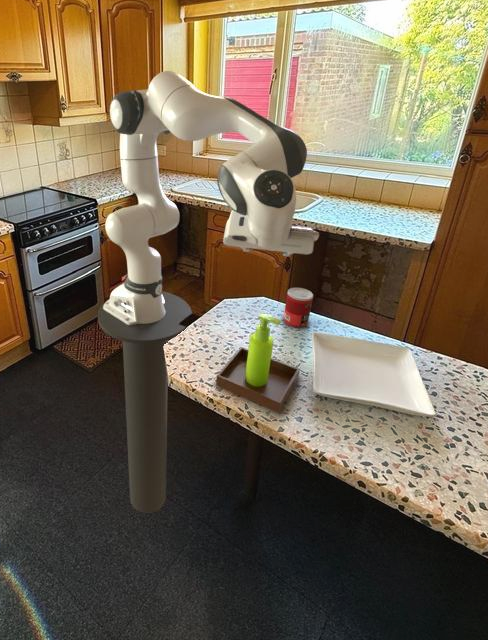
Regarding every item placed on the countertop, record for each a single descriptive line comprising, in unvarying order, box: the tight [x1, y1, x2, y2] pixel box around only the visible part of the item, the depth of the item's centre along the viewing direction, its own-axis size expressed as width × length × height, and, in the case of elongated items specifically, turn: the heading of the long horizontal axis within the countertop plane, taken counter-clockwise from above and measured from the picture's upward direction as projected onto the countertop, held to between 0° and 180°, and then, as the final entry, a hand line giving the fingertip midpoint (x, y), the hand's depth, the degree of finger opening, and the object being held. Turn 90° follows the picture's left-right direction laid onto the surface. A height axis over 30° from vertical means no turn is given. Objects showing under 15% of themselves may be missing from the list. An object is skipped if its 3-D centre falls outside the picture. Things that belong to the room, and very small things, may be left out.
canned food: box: [283, 287, 314, 329], centre depth 131 cm, size 8×8×11 cm
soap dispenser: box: [245, 312, 282, 386], centre depth 102 cm, size 6×7×20 cm
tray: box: [215, 346, 301, 414], centre depth 107 cm, size 17×15×3 cm
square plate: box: [310, 331, 437, 418], centre depth 108 cm, size 27×27×4 cm
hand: (266, 251), depth 98 cm, fingers open, 8 cm apart
